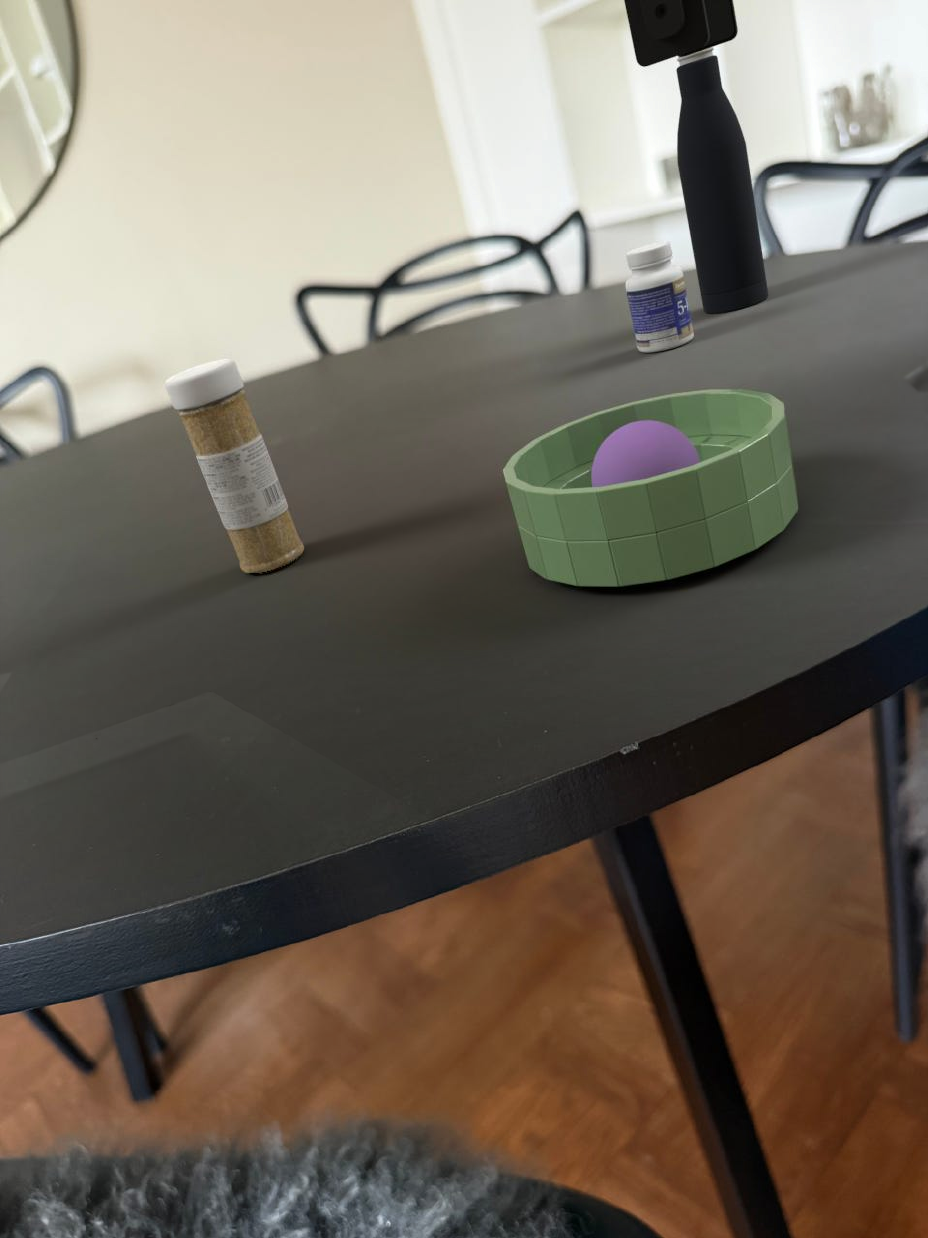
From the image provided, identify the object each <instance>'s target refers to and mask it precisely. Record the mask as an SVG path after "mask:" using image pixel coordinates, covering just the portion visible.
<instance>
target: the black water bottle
mask: <svg viewBox="0 0 928 1238" xmlns="http://www.w3.org/2000/svg"><path fill="white" fill-rule="evenodd" d="M714 50H715V49H714V47H711V48H708V49H705V50H702V51H699V52H696V53H693V54H691V55H688V56H685V57H679V56H677V57H678V58H677V59H676V61H677V62H678V63H679V66H677V68H676V77H677V83H678V88H679V94H680V100H681V101H680V110H679V117H678V124H677V134H676V136H677V137H676V149H677V150H676V152H677V153H676V154H677V156H676V157H677V168H678V173H679V179H680V185H681V190H682V196H683V201H684V208H685V211H686V212H685V214H686V218H687V225H688V230H689V236H690V241H691V242H690V243H691V247H692V253H693V259H694V265H695V270H696V276H697V281H698V287H699V293H700V297H701V298H700V299H701V303H702V304H701V305H702V310H703V312H704V313H705V314H713V315H714V314H722V313H728V312H729V313H730V312H734V311H738V310H741V309H745V308H748V307H751V306H755V305H757V304H759V303H761V302H763V301H765V300H766V299H767V298H768V297H769V290H768V283H767V277H766V275H767V274H766V268H765V262H764V254H763V248H762V241H761V236H760V227H759V222H758V213H757V209H756V202H755V201H756V200H755V195H754V188H753V182H752V175H751V169H750V161H749V154H748V148H747V147H748V146H747V142H746V139H745V136H744V132H743V130H742V127H741V124H740V121H739V119H738V116H737V114H736V111H735V109H734V108H733V105H732V103H731V102H730V100H729V98H728V95H727V94H726V91H724V88H723V83H722V77H721V71H720V64H719V58H718V56H717V55H714V53H713V51H714Z"/></svg>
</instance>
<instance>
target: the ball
mask: <svg viewBox="0 0 928 1238" xmlns="http://www.w3.org/2000/svg"><path fill="white" fill-rule="evenodd" d="M697 463H700V459H699V456H698V453H697V451H696V449H695V447H694V446H693V444H692V442H691V441H690V440H689V439H688V438H687V436H685V435H684V434H683V433H682V432H681V431H679V430H678V429H676V428H675V427H673V426H671V425H669V424H666V423H663V422H659V421H652V420H645V421H636V422H632V423H629V424H627V425H625V426H622V427H620V428H619V429H617V430H616V431H614V432H613V433H612V434H611V435H610V436H609V437H607V438H606V440H605V441H604V442H603V443H602V445H601V446H600V448H599V450H598V451H597V453H596V456H595V458H594V462H593V466H592V473H591V479H592V487H603V486H608V485H614V484H620V483H625V482H631V481H636V480H642V479H647V478H651V477H654V476H658V475H661V474H665V473H668V472H672V471H676V470H679V469H683V468H686V467H690V466H693V465H695V464H697Z"/></svg>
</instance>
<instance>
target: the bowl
mask: <svg viewBox="0 0 928 1238" xmlns="http://www.w3.org/2000/svg"><path fill="white" fill-rule="evenodd" d="M645 420H652V421H659V422H663V423H666V424H669V425H671V426H673V427H675V428H676V429H678V430H679V431H681V432H682V433H683V434H684V435H685V436H687V438H688V439H689V440H690V441H691V442H692V444H693V446H694V447H695V449H696V451H697V453H698V456H699V459H700V463H697V464H695V465H693V466H690V467H686V468H683V469H679V470H676V471H672V472H668V473H665V474H661V475H658V476H654V477H651V478H647V479H642V480H636V481H631V482H625V483H620V484H614V485H608V486H603V487H592V479H591V473H592V466H593V462H594V458H595V456H596V453H597V451H598V450H599V448H600V446H601V445H602V443H603V442H604V441H605V440H606V438H607V437H609V436H610V435H611V434H612V433H613V432H614V431H616V430H617V429H619V428H620V427H622V426H625V425H627V424H629V423H632V422H636V421H645ZM791 447H792V446H791V441H790V433H789V427H788V420H787V414H786V406H785V403H784V401H782V400H780V399H778V398H777V397H776V396H774V395H772V394H771V393H768V392H761V391H756V390H750V389H745V388H730V389H729V388H726V389H724V388H723V389H720V388H719V389H717V388H716V389H715V388H713V389H712V388H711V389H701V390H694V391H693V390H692V391H683V392H676V393H670V394H664V395H659V396H655V397H650V398H646V399H641V400H635V401H632V402H628V403H625V404H621V405H618V406H614V407H611V408H607V409H604V410H600V411H597V412H594V413H592V414H588V415H586V416H583V417H581V418H578V419H576V420H573V421H570V422H568V423H565V424H562V425H560V426H557V427H556V428H554V429H551V430H550V431H548V432H546V433H544V434H542V435H541V436H540V435H539V436H538V437H537V438H535V439H533V440H531V441H530V442H528V443H527V444H525V446H523V447H522V448H521V449H519V450H517V452H515V453H514V454H513V455H512V456H511V457H510V458H509V460H508V462H507V463H506V464H505V466H504V468H503V470H502V474H503V477H504V481H505V485H506V487H507V491H508V496H509V498H510V502H511V506H512V509H513V513H514V517H515V520H516V524H517V527H518V531H519V535H520V539H521V542H522V546H523V549H524V553H525V556H526V557H525V558H526V561H527V564H528V567H529V569H530V570H531V571H533V572H535V573H536V574H537V575H539V576H541V577H542V578H544V579H545V580H547V581H551V582H556V583H561V584H565V585H570V586H575V587H584V588H585V587H589V588H590V587H592V588H594V587H597V588H598V587H599V588H603V587H604V588H605V587H606V588H609V587H610V588H618V587H628V586H635V585H642V584H650V583H657V582H663V581H670V580H672V579H676V578H680V577H684V576H688V575H691V574H695V573H698V572H702V571H706V570H710V569H713V568H716V567H719V566H721V565H724V564H725V563H728V562H730V561H732V560H735V559H737V558H739V557H742V556H744V555H747V554H749V553H751V552H754V551H755V550H757V549H760V547H762V546H763V545H765V544H766V543H767V542H769V541H771V540H772V539H773V538H775V537H777V536H778V535H779V534H781V533H783V531H784V530H785V529H786V528H787V526H788V525H789V524H790V522H791V521H792V520H793V518H794V517H795V515H796V514H797V513H798V511H799V497H798V496H799V494H798V487H797V480H796V473H795V468H794V461H793V455H792V448H791Z"/></svg>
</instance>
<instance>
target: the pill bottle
mask: <svg viewBox="0 0 928 1238" xmlns="http://www.w3.org/2000/svg"><path fill="white" fill-rule="evenodd" d="M625 257H626V262H627V266H628V270H630V271H631V273H632V275H631V276H629V278H628V279H627V280H626V282H625V292H626V296H627V297H626V298H627V303H628V306H629V312H630V317H631V322H632V325H633V332H634V336H635V343H636V347H637V350H638V352H641V353H645V354H649V353H650V354H651V353H657V352H664V351H667V350H671V349H675V348H677V347H680V346H683V345H686V344H687V343H689V342H691V341H692V340H693V338H694V336H695V333H694V327H693V322H692V317H691V309H690V305H689V300H688V295H687V288H686V282H685V277H684V272H683V269H682V268H681V267H680V266H678V265H676V264H672V261H671V260H672V259H673V249H672V246H671V242H670V241H669V240H666V241H658V242H655V243H650V244H647V245H642V246H640V247H636V248H634V249H631V250H629V251H628V252H626V254H625Z"/></svg>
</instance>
